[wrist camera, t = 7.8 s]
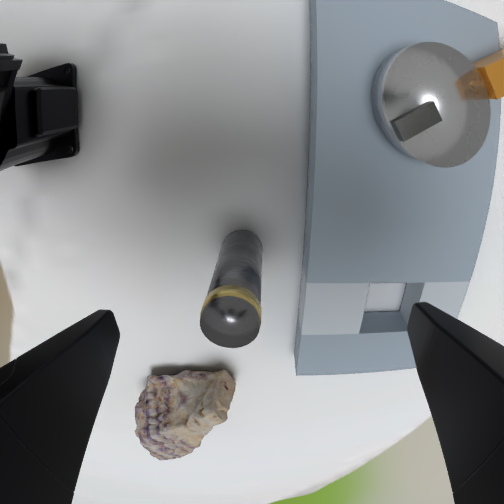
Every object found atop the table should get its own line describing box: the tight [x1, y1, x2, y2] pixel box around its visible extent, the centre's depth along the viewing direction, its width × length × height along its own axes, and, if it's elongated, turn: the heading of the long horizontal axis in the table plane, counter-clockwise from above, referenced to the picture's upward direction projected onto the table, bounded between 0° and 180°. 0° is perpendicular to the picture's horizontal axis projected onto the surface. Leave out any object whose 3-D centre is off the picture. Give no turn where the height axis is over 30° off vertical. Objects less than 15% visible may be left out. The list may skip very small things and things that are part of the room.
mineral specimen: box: [135, 370, 236, 460], centre depth 25 cm, size 13×7×6 cm, turn 152°
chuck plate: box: [294, 0, 501, 375], centre depth 18 cm, size 12×26×2 cm, turn 0°
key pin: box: [200, 230, 262, 348], centre depth 17 cm, size 3×3×8 cm
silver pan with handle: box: [372, 42, 504, 168], centre depth 12 cm, size 6×14×3 cm, turn 123°
